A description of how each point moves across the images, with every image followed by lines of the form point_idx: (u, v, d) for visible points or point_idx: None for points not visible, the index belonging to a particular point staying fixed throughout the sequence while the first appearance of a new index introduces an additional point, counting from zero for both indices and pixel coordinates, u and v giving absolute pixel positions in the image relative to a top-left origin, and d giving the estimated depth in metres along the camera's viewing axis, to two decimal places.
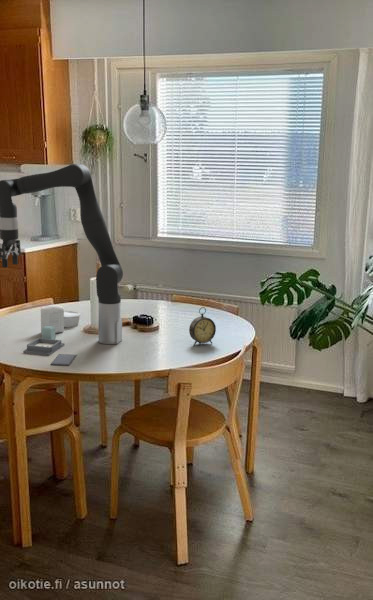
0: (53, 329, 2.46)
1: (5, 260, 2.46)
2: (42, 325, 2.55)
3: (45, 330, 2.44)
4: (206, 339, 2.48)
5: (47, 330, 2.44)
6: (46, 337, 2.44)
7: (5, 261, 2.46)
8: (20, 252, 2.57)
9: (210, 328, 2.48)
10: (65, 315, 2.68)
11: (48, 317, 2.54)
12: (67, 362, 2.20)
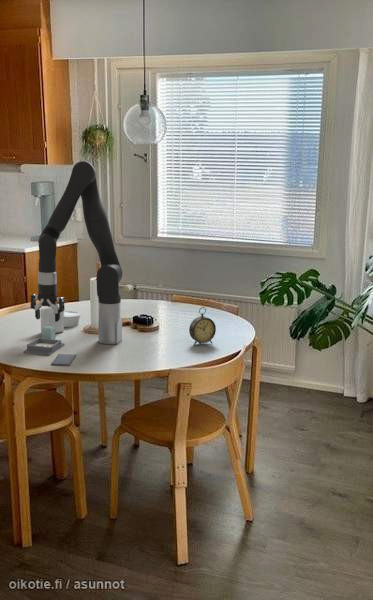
0: (53, 329, 2.46)
1: None
2: (42, 325, 2.55)
3: (45, 330, 2.44)
4: (206, 339, 2.48)
5: (47, 330, 2.44)
6: (46, 337, 2.44)
7: None
8: None
9: (210, 328, 2.48)
10: (65, 315, 2.68)
11: (48, 317, 2.54)
12: (67, 362, 2.21)
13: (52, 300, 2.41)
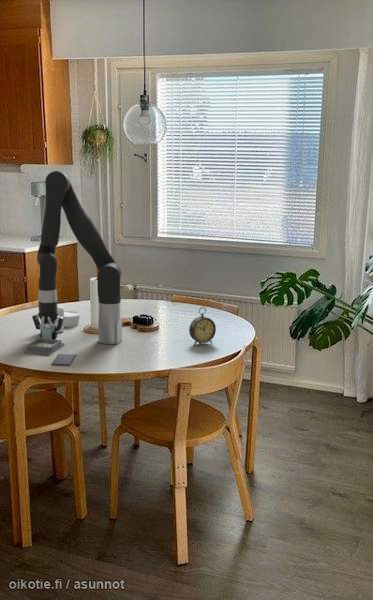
0: None
1: None
2: None
3: (45, 330, 2.44)
4: (206, 339, 2.48)
5: (47, 330, 2.43)
6: (46, 337, 2.44)
7: None
8: None
9: (210, 328, 2.48)
10: (65, 315, 2.68)
11: None
12: (67, 362, 2.21)
13: (53, 319, 2.43)
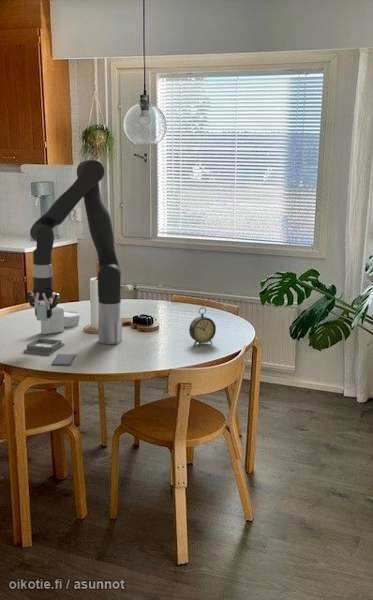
0: None
1: None
2: (42, 325, 2.55)
3: (40, 307, 2.31)
4: (206, 339, 2.48)
5: (42, 307, 2.31)
6: (41, 315, 2.31)
7: None
8: None
9: (210, 328, 2.48)
10: (65, 315, 2.68)
11: None
12: (68, 362, 2.21)
13: (48, 295, 2.30)
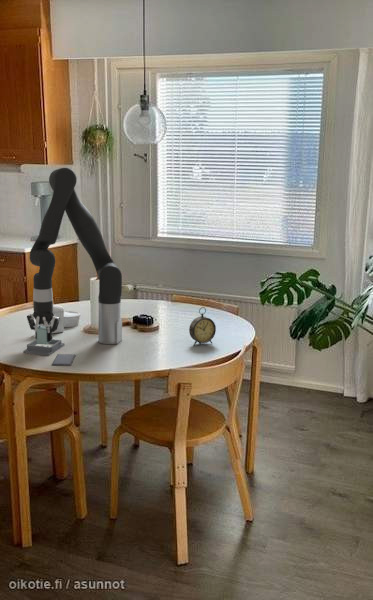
0: None
1: None
2: (42, 325, 2.55)
3: (40, 331, 2.33)
4: (206, 339, 2.48)
5: (42, 331, 2.33)
6: (41, 338, 2.34)
7: None
8: None
9: (210, 328, 2.48)
10: (65, 315, 2.68)
11: None
12: (68, 362, 2.21)
13: (48, 319, 2.32)
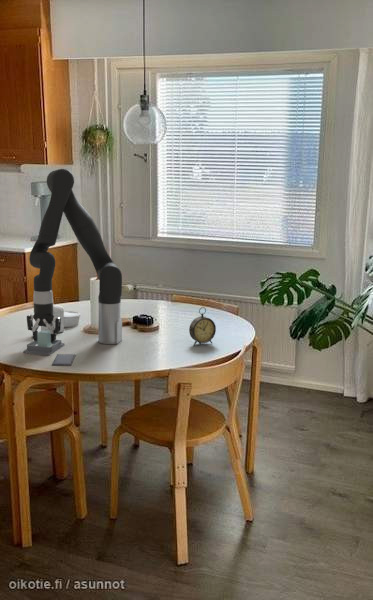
0: (49, 334, 2.35)
1: None
2: None
3: (41, 335, 2.33)
4: (206, 339, 2.48)
5: (43, 335, 2.33)
6: (42, 342, 2.34)
7: None
8: None
9: (210, 328, 2.48)
10: (65, 315, 2.68)
11: None
12: (68, 362, 2.21)
13: (49, 320, 2.32)
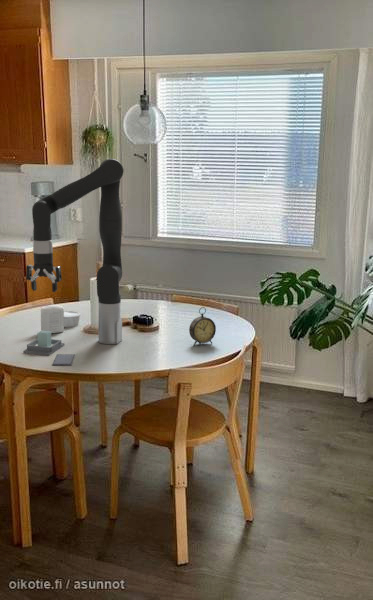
0: (49, 334, 2.35)
1: None
2: (42, 325, 2.55)
3: (41, 335, 2.33)
4: (206, 339, 2.48)
5: (43, 335, 2.33)
6: (42, 342, 2.34)
7: None
8: None
9: (210, 328, 2.48)
10: (65, 315, 2.68)
11: (48, 317, 2.54)
12: (68, 362, 2.21)
13: (49, 270, 2.34)
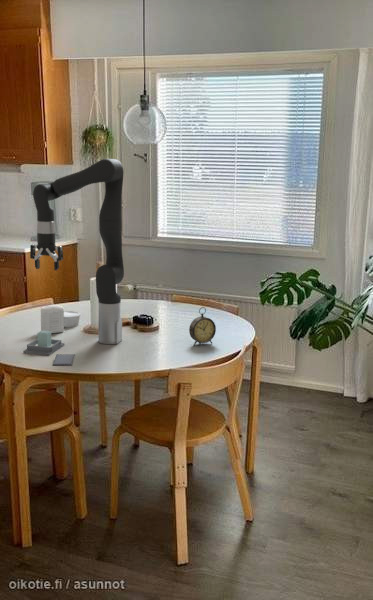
0: (49, 334, 2.35)
1: None
2: (42, 325, 2.55)
3: (41, 335, 2.33)
4: (206, 339, 2.48)
5: (43, 335, 2.33)
6: (42, 342, 2.34)
7: None
8: None
9: (210, 328, 2.48)
10: (65, 315, 2.68)
11: (48, 317, 2.54)
12: (69, 362, 2.21)
13: (51, 249, 2.49)
